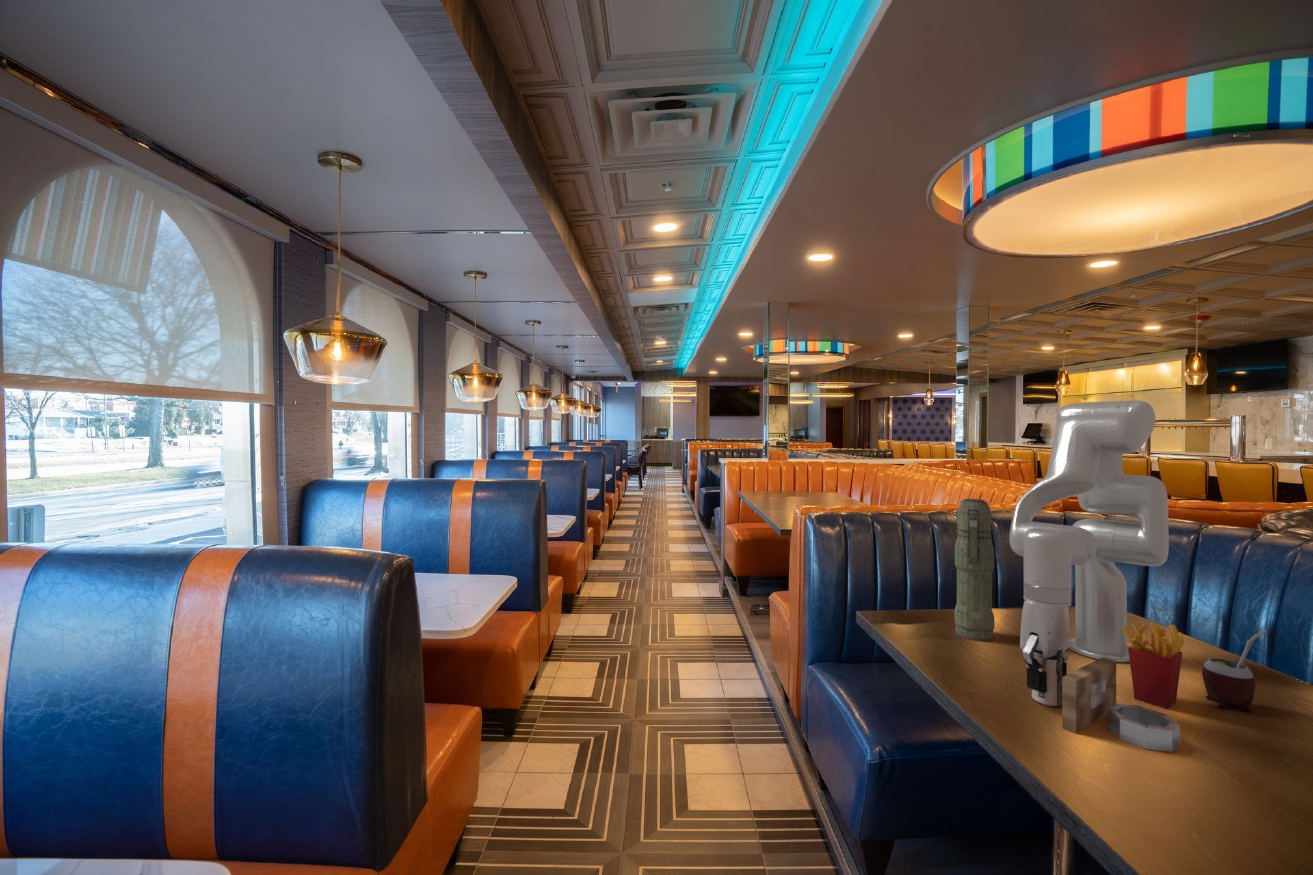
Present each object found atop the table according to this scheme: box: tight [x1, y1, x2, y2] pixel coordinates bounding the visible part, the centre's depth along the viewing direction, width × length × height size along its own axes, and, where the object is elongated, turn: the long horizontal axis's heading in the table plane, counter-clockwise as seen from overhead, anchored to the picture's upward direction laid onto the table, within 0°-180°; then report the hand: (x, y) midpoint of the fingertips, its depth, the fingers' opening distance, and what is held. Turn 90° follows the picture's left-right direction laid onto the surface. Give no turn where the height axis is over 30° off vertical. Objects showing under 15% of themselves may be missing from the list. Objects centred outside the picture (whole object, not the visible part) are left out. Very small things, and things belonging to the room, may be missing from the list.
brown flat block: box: [1061, 657, 1117, 734], centre depth 100 cm, size 17×2×9 cm, turn 122°
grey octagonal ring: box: [1107, 703, 1181, 753], centre depth 93 cm, size 8×8×4 cm
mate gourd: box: [1201, 629, 1268, 714], centre depth 104 cm, size 8×8×15 cm
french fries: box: [1121, 622, 1185, 710], centre depth 107 cm, size 9×8×15 cm
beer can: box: [1031, 647, 1062, 707], centre depth 106 cm, size 5×5×12 cm
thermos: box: [953, 498, 995, 642], centre depth 142 cm, size 9×12×35 cm
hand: (1046, 684), depth 106 cm, fingers open, 7 cm apart
